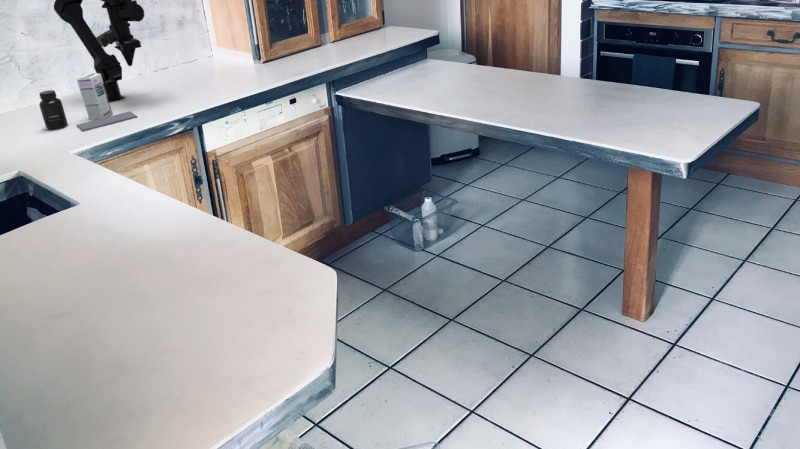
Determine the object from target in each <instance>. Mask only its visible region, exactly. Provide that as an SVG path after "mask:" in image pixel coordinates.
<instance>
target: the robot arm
mask: <svg viewBox="0 0 800 449" xmlns="http://www.w3.org/2000/svg"><path fill="white" fill-rule="evenodd" d="M100 1H101V2H104V3H103V4H102V5H101V8H102V9H106V12H107V15H108V19H109V23H110V24H109V25H108V28H109V29H108V30H105V31H104V32H103V33H101V34H99V35H98V36H96V35H95V33H93V31H92V29H91V27H90V26H89V25H88V23H87V22H86V20H85V18H84V10H83V7H82V6H81V5H82V3H83V0H55V1H54V3H53V10H54V12H55V13H56V14H57V16H58V17H59V18H60V19H61V20H62V21H64V22H65V23H67V24H69V25H70V26H71V27H72V29H73V31H74V32H75V34H76V35H77V37H78V38H79V39H80V41H81V42H82V45H83V46H84V47H85V49H86V51H88V54H89V55H90V56H91V58H92V59H93V69H94V70H95V71H94V72H95V73H100V74H101V76H102V80H103V83H104V86H105V90H106V93H107V97H108V100H109V103H110V102H114V101H118V100H122V99H124V98H125V96H124V95H122V94H121V90H120V87H119V83H118V81H121V80H123V67H122V65H121V62H120V61H119V60H118V58H117V56H116V55H114V54H109V53H107V52H106V50H105V49H104V48H106V47H108V46H109V45H114V43H115V46H114V48H115V49H117V50H118V51H120V52H121V54H122V56H123V59H124V60H125V62H126V64H127V65H128V67H132V66H133V62H134V56H135V54H136V49H137V48H139V49H140V48H142V44H141V41H140V40H138V39H137V38H134V35H133V34H132V33H131V28H130V27H131V23H130V22H141V21H143V19H144V18H145V10H144V8H143V7H142V5H140V4H138V2H137V0H100Z"/></svg>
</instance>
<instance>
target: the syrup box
mask: <svg viewBox="0 0 800 449" xmlns="http://www.w3.org/2000/svg"><path fill="white" fill-rule="evenodd" d="M76 81H77V84H78V88H79V91H80V94H81V98H82V101H83V103H84V107H85V111H86V114H87V117H88V119H89V120H90V121H93V120H97V119H101V118H105V117H109V116H112V114H113V110H112V107H111V104H110V102H109V100H108V97H107V93H106V90H105V86H104V83H103V80H102V76H101V74H100V73H96V72H94V73H93V72H92V73H86V74H84V75H83V76H80V77H78V78H77V79H76Z"/></svg>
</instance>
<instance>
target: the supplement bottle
mask: <svg viewBox="0 0 800 449" xmlns="http://www.w3.org/2000/svg"><path fill="white" fill-rule="evenodd" d="M38 94H39V98H40V102H39V109H40V112H41V115H42V119H43V122H44V125H45V128H46V130H50V131H52V130H53V131H55V130H60V129H63V128H66V127H67V126H68V125H69V124H68V119H67V116H66V113H65V109H64V106H63V102H62V100H61V98H59V97H57V94H56V91H55V90H53V89H50V90H44V91H42V92H41V91H40V92H39V93H38Z"/></svg>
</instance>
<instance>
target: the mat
mask: <svg viewBox="0 0 800 449" xmlns="http://www.w3.org/2000/svg"><path fill="white" fill-rule="evenodd" d="M137 118H138V115H137V114H135V113H133V112H131V110H129V111H126V112H122V113H118V114H113V115H109V116H108V117H105V118H101V119H97V120H90V121H85V122H82V123H79V124H78V123H77V124H76V127H77V128H78V129H79V130H80V131H82V132H86V131H87V132H88V131H90V130H93V129H94V130H95V129H97V128H102V127H106V126H109V125H114V124H116V123H121V122H125V121H129V120H132V119H137Z"/></svg>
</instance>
